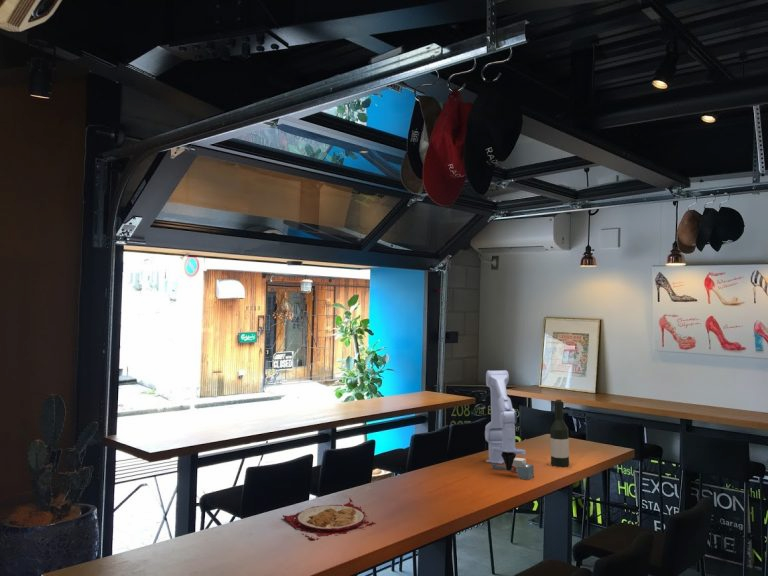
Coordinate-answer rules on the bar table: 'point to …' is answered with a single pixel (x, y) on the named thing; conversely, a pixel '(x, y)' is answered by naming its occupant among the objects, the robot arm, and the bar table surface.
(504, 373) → the robot arm
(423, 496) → the bar table surface
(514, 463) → the carriage
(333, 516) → the plate with food
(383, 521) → the bar table surface
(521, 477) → the gauge cabinet
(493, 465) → the rail
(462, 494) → the bar table surface
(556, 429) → the wine bottle
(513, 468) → the plunger
